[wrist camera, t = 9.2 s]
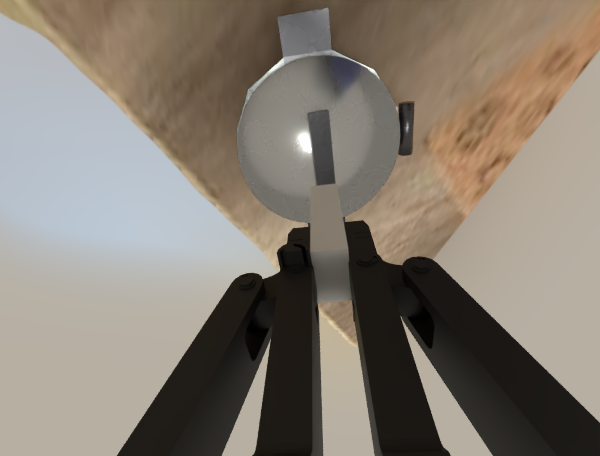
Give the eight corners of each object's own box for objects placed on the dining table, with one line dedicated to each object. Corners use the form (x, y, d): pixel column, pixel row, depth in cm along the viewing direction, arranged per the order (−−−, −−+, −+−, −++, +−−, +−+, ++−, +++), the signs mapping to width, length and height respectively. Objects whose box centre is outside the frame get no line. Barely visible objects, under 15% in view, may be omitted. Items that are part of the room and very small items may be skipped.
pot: (228, 31, 33) (210, 27, 27) (399, 2, 31) (420, -10, 25) (268, 215, 44) (262, 242, 38) (396, 200, 42) (411, 226, 36)
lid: (217, 71, 26) (215, 72, 24) (397, 41, 27) (406, 40, 25) (256, 232, 33) (257, 239, 32) (395, 204, 34) (402, 210, 33)
